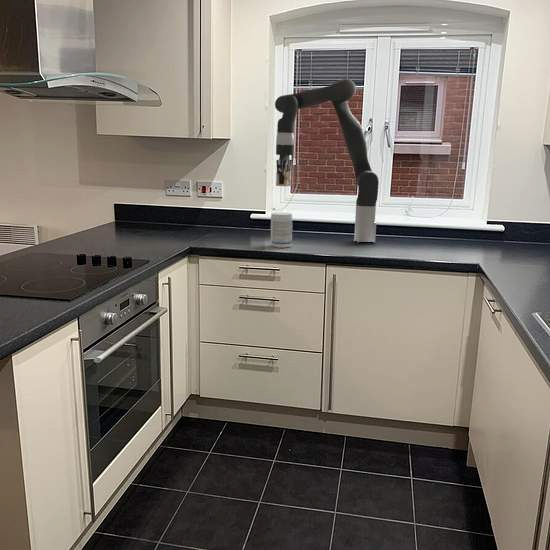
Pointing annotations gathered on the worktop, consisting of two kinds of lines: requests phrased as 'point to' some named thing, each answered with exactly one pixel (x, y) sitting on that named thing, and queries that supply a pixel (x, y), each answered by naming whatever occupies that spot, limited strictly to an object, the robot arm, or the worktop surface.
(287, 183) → the oak block
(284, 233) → the supplement tub
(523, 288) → the worktop surface
